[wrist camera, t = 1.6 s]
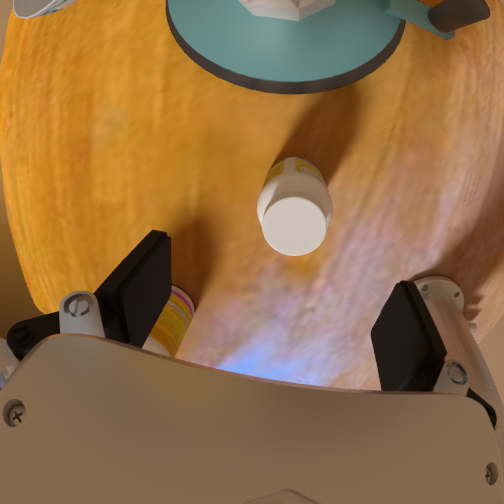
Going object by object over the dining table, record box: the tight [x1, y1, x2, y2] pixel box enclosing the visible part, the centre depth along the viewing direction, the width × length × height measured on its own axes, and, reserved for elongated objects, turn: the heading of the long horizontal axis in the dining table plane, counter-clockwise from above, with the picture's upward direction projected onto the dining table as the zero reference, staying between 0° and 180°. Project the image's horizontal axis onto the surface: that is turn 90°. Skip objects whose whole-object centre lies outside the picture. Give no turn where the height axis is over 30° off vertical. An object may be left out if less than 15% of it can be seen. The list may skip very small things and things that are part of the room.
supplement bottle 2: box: [257, 157, 333, 256], centre depth 21 cm, size 5×5×10 cm
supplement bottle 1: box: [142, 286, 194, 358], centre depth 29 cm, size 7×7×13 cm
